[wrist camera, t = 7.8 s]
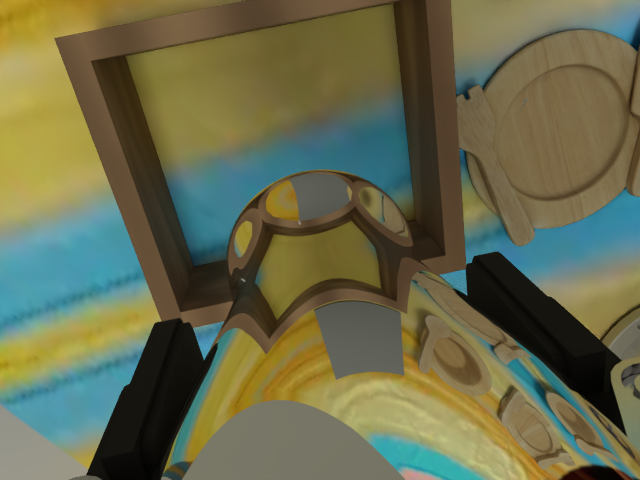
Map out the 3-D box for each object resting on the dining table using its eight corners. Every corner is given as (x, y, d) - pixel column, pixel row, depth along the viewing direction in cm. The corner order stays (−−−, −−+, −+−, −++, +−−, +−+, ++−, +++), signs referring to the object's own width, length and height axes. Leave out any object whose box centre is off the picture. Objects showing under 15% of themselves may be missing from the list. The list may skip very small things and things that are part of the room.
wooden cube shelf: (411, -24, 27) (448, -39, 22) (433, 231, 34) (466, 268, 29) (96, 37, 27) (54, 38, 21) (182, 285, 34) (166, 333, 28)
